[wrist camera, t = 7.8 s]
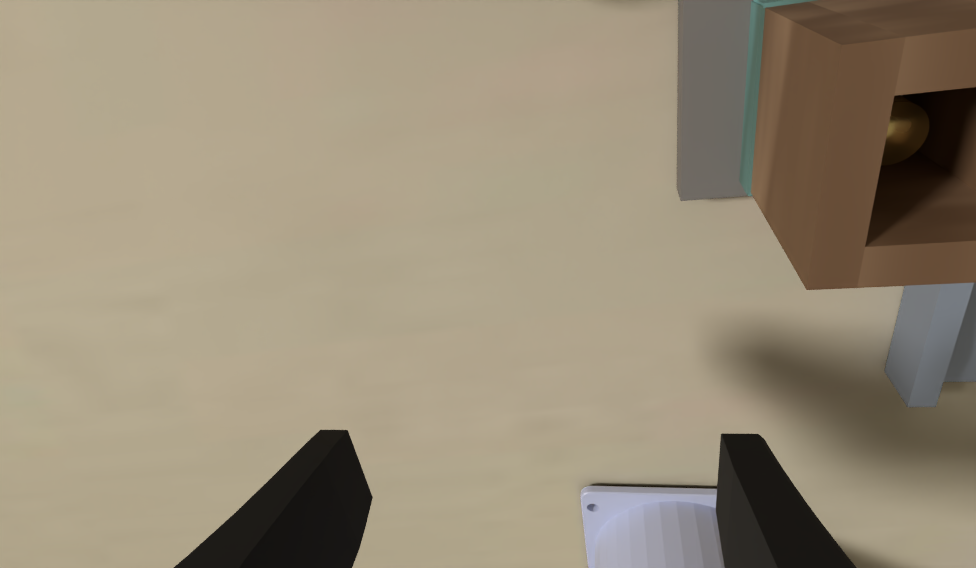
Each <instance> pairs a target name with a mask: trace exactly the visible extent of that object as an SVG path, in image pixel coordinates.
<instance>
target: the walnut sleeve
mask: <svg viewBox="0 0 976 568" xmlns="http://www.w3.org/2000/svg"><path fill="white" fill-rule="evenodd" d="M896 95H903V97H904V98H906V99H907V100H909V101H911V102H913V103H915V104H916V105H918V106H920V107H921V108H922V109H923V110H924V111H925V112H926V114H927V115H928V118H929V132H928V135H927V137H926V140H925V141H924V143H923V144H922V146H921V147H920V148H919V149H918V150H917V151H916V152H915V153H914V154H913V155H911V156H910V157H908V158H907V159H905V160H903V161H901V162H898V163H895V164H891V165H881V162H882V157H883V152H884V147H885V141H886V136H887V131H888V126H889V121H890V116H891V110H892V105H893V100H894V96H896ZM739 182H740V183H741V185H742V187H743V189H744V191H745V192H746V194H747V195H748V196H753V197H754V199H755V201H756V202H757V204H758V206H759V208H760V209H761V211H762V213H763V215H764V216H765V218H766V220H767V222H768V223H769V225H770V227H771V229H772V230H773V232H774V234H775V236H776V237H777V239H778V241H779V243H780V244H781V246H782V248H783V249H784V251H785V253H786V255H787V256H788V258H789V260H790V262H791V263H792V265H793V267H794V269H795V270H796V272H797V274H798V276H799V277H800V279H801V281H802V283H803V284H804V286H805V288H806V289H807V290H818V289H841V288H864V287H886V286H909V285H932V284H955V283H976V0H753V1H751V11H750V26H749V41H748V56H747V72H746V87H745V102H744V117H743V132H742V147H741V162H740V177H739Z"/></svg>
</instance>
